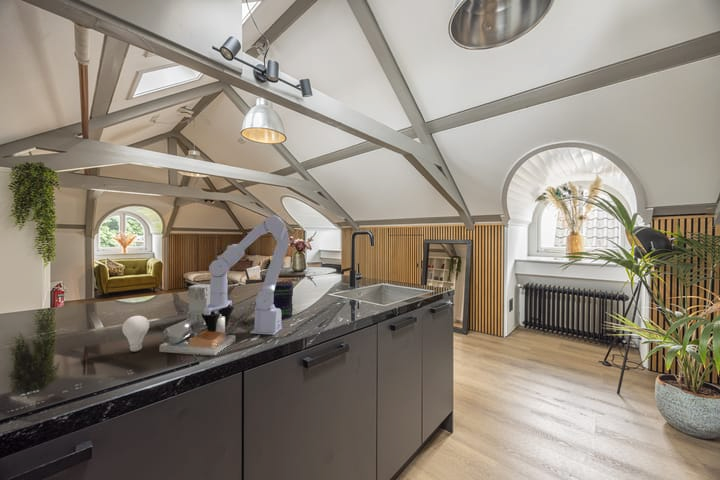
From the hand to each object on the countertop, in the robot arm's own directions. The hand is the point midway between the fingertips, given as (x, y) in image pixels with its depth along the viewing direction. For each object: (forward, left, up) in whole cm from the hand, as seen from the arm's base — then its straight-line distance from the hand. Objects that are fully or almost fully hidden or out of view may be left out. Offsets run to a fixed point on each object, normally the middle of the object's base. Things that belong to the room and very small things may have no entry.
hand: (218, 329), depth 107 cm
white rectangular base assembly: (-1, +12, -2) cm, 12 cm away
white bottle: (0, 0, -2) cm, 2 cm away
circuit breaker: (+15, -16, -2) cm, 22 cm away
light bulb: (+15, +19, -2) cm, 24 cm away
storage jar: (-14, -26, -2) cm, 30 cm away
